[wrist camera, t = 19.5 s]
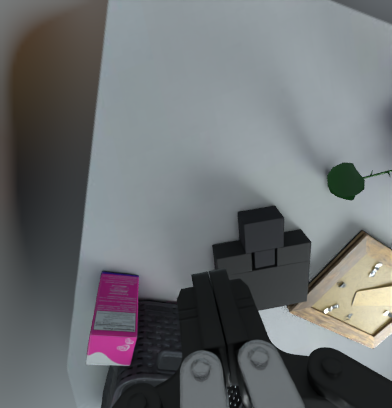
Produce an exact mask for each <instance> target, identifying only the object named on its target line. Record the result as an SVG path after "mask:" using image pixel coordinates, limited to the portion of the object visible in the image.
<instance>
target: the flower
mask: <svg viewBox="0 0 392 408" xmlns="http://www.w3.org/2000/svg"><path fill="white" fill-rule="evenodd" d="M372 171H373V170H372ZM389 172H392V170H389V171H385V172H381V173H377V174H373V175H372V172H371V174H370V176H366V177H362V176H361V175H360V174H359V173H358V171H357V170H356V168H355V167H354V165H353V163H342V164H339V165H337V166H335V167H333V168H332V169H331V171H330V172H329V174H328V175H327V180H328V187H329V190H330V192H331V193H332V194H334V195H335V196H337V197H340V198H343V199H346V200H354V197H355V195H357V194H359V193H360V192H361V191H363V190H364V181H365V180H364V179H365V178H369V177H373V176H377V175H381V174H385V173H388V174H389ZM389 176H390V174H389Z"/></svg>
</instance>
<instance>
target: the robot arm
mask: <svg viewBox="0 0 392 408" xmlns="http://www.w3.org/2000/svg"><path fill="white" fill-rule="evenodd" d="M209 276H210V278H209ZM192 281H193V287H190V288H185V289H181V291H180V293H179V296H178V298H177V303H178V314H179V325H180V336H181V348H182V361H181V364H180V366H179V368H178V370H177V371H176V372H175V373H174V375H173V376H171V377H170V378H169V379H167V380H166V381H164V382H162V383H160V384H159V385H157V386H155V387H154V386H152V385H151V384H148V383H138V384H134V385H132V386H130V387H129V388H128V389H126V390H125V391H124V392H123V393H122V395H121V396H120V397H119V399H118V400H117V401H116V403H115V404H114V405H113V407H112V408H229V400H228V392H227V387H230V379H231V383H232V386H234V385H239V390H240V394H241V398H242V407H243V408H392V381H390V380H389V379H387V378H385V377H383V376H382V375H380V374H378V373H377V372H375V371H373V370H371V369H370V368H368V367H366V366H364V365H363V364H361V363H359V362H357V361H356V360H354V359H352V358H350V357H349V356H347V355H345V354H343V353H342V352H340V351H338V350H335V349H332V348H326V347H324V348H318V349H316V350H314V351H313V352H312V353H311V354H310V356H302V355H294V354H289V353H286V352H283V351H281V350H280V349H278V348H277V347H276V346H274V345H273V343H272V342H271V341H270V339H269V337H268V335H267V332H266V330H265V327H264V325H263V322H262V320H261V317H260V314H259V312H258V309H257V307H256V305H255V302H254V299H253V297H252V294H251V292H250V289H249V287H248V285H247V284H246V283H245V282H244V281H243V280H241V279H240V278H238V279H233V280H229V277H228V274H227V271H226V268H224V269H218V270H213V271H209V274H208V272H203V273H197V274H192ZM228 370H229V371H228ZM229 374H230V379H229Z"/></svg>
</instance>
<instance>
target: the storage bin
mask: <svg viewBox="0 0 392 408" xmlns="http://www.w3.org/2000/svg"><path fill="white" fill-rule="evenodd" d="M181 361H182V348H181V336H180V325H179V314H178V305H176V304H168V303H159V302H151V301H141V302H138V321H137V339H136V343H135V347H134V352H133V356H132V360H131V364H130V366H117V365H110V367H109V371H108V375H107V379H106V383H105V386H104V390H103V397H102V405H101V408H112V407H113V405H114V404H115V403H116V401H117V400H118V399H119V397H120V396H121V395H122V393H123V392H124V391H125V390H126V389H128V388H129V387H130V386H132V385H134V384H138V383H148V384H151V385H152V386H154V387H155V386H157V385H159V384H160V383H162V382H164V381H166V380H167V379H169V378H170V377H171V376H173V375H174V373H175V372H176V371H177V370H178V368H179V366H180V364H181ZM228 371H229V370H228ZM229 379H230V374H229ZM230 386H231V387H227V390H228V391H227V392H228V400H229V408H243V407H242V398H241V394H240V390H239V385H234V386H232V383H231V379H230ZM235 386H236V388H235ZM236 393H237V395H236ZM229 396H230V397H229ZM234 397H235V398H234ZM233 399H234V400H233ZM238 399H239V401H238ZM230 403H231V405H230ZM235 404H236V406H235Z"/></svg>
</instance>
